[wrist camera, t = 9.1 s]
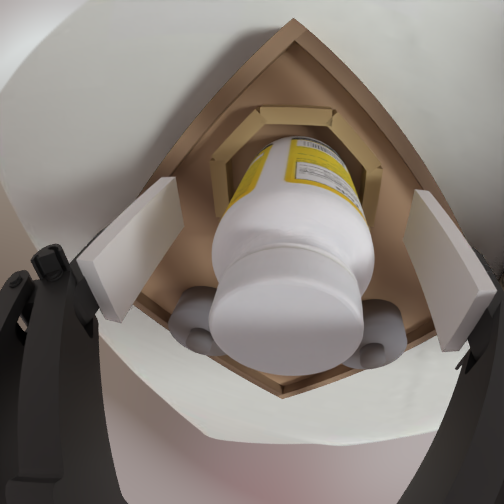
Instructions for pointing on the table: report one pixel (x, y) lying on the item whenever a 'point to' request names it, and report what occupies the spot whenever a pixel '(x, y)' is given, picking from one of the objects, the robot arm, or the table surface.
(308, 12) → the table surface
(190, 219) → the carrier
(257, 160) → the supplement bottle
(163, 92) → the table surface
